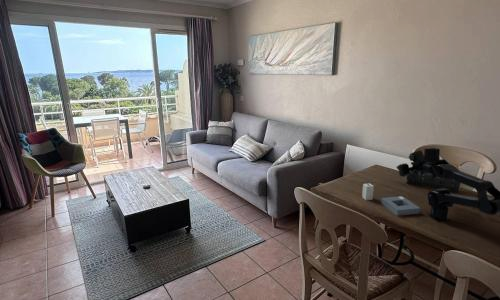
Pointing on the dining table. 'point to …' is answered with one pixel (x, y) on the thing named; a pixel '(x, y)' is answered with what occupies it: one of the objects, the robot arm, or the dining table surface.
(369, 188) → the block
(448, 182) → the muzzle brake
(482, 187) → the robot arm
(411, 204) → the socket plate
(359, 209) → the dining table surface
